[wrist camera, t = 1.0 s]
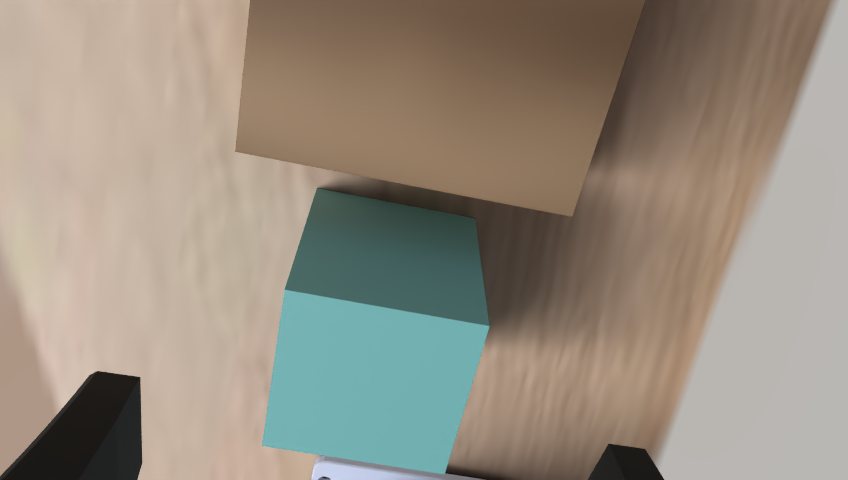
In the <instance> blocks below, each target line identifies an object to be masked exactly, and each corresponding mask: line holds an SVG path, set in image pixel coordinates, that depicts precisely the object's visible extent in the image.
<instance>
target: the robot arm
mask: <svg viewBox="0 0 848 480" xmlns="http://www.w3.org/2000/svg"><path fill="white" fill-rule="evenodd" d="M141 465H142V436H141V391H140V377H135V376H128V375H121V374H114V373H107V372H100V371H97V372H95V373H93V374H91V375H89V377H88V378H87V379H86V380H85V382H84V383H83V384H82V385H81V387H80V388H79V389H78V390H77V392H76V393H75V394H74V395H73V396H72V398H71V399H70V400H69V401H68V402H67V404H66V405H65V406H64V407H63V408H62V409H61V411H60V412H59V413H58V414H57V415H56V416H55V418H54V419H53V420H52V421H51V422H50V423H49V424H48V426H47V427H46V428H45V429H44V430H43V431H42V432H41V433H40V434H39V436H38V437H37V438H36V439H35V440H34V441H33V442H32V443H31V444H30V446H29V447H28V448H27V449H26V450H25V451H24V452H23V453H22V454H21V455H20V456H19V458H17V459H16V461H15V462H14V463H13V464H12V465H11V466H10V467H9V468H8V469H7V470H6V471H5V472H4V473H3V474H2V475H1V476H0V480H137V479H138V475H139V472H140V468H141ZM321 477H328V478H329V479H324V478H321ZM311 480H484V479H478V478H471V477H465V476H459V475H452V474H446V473H445V475H444V474H438V473H431V472H425V471H418V470H412V469H406V468H399V467H393V466H387V465H380V464H374V463H368V462H361V461H355V460H349V459H342V458H336V457H330V456H320V457H319V458H317V459H316V461H315V463H314V468H313V473H312V478H311ZM588 480H664V479H663V477H662V475H661V474H660V472H659V470H658V469H657V467H656V466H655V464H654V462H653V461H652V459H651V458H650V456H649V455H648V453H647V451H646V450H645V449H641V448H634V447H627V446H620V445H613V444H608V446H607V447H606V449H605V451H604V453H603V454H602V456H601V458H600V460H599V461H598V463H597V465H596V467H595V468H594V470H593V472H592V474H591V475H590V477H589V479H588Z"/></svg>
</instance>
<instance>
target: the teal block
mask: <svg viewBox="0 0 848 480" xmlns="http://www.w3.org/2000/svg"><path fill="white" fill-rule="evenodd" d="M489 327H490V325H489V318H488V310H487V303H486V296H485V288H484V281H483V273H482V266H481V258H480V251H479V244H478V236H477V229H476V221H475V218H471V217H465V216H460V215H455V214H450V213H445V212H439V211H434V210H429V209H424V208H418V207H413V206H408V205H403V204H398V203H392V202H387V201H382V200H377V199H372V198H366V197H361V196H356V195H351V194H345V193H340V192H335V191H330V190H325V189H319V188H317V190H316V193H315V196H314V199H313V203H312V206H311V209H310V212H309V215H308V218H307V221H306V224H305V228H304V231H303V234H302V237H301V240H300V243H299V246H298V250H297V253H296V256H295V259H294V262H293V265H292V268H291V272H290V275H289V278H288V281H287V284H286V287H285V291H284V298H283V305H282V312H281V319H280V326H279V332H278V339H277V346H276V353H275V360H274V367H273V374H272V381H271V387H270V394H269V401H268V408H267V415H266V422H265V429H264V436H263V442H262V446H266V447H273V448H279V449H285V450H292V451H298V452H304V453H311V454H317V455H323V456H330V457H336V458H342V459H349V460H355V461H361V462H368V463H374V464H380V465H387V466H393V467H399V468H406V469H412V470H418V471H425V472H431V473H438V474H444V475H445V471H446V468H447V465H448V461H449V458H450V455H451V452H452V448H453V445H454V442H455V438H456V435H457V432H458V429H459V425H460V422H461V419H462V415H463V412H464V409H465V406H466V402H467V399H468V396H469V392H470V389H471V386H472V383H473V379H474V376H475V373H476V369H477V366H478V363H479V360H480V356H481V353H482V350H483V346H484V343H485V340H486V337H487V333H488V330H489Z"/></svg>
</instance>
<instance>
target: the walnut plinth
mask: <svg viewBox="0 0 848 480" xmlns="http://www.w3.org/2000/svg"><path fill="white" fill-rule="evenodd" d="M644 3H645V0H250V8H249V18H248V28H247V38H246V48H245V59H244V69H243V79H242V89H241V99H240V110H239V120H238V130H237V140H236V150H235V152H240V153H245V154H250V155H255V156H261V157H266V158H271V159H276V160H281V161H286V162H292V163H297V164H302V165H307V166H312V167H317V168H323V169H328V170H333V171H338V172H343V173H348V174H353V175H359V176H364V177H369V178H374V179H379V180H384V181H390V182H395V183H400V184H405V185H410V186H415V187H421V188H426V189H431V190H436V191H441V192H446V193H451V194H457V195H462V196H467V197H472V198H477V199H482V200H488V201H493V202H498V203H503V204H508V205H513V206H519V207H524V208H529V209H534V210H539V211H544V212H549V213H555V214H560V215H565V216H570V217H572V216H573V213H574V210H575V207H576V204H577V201H578V198H579V195H580V192H581V189H582V186H583V183H584V181H585V178H586V175H587V172H588V169H589V166H590V163H591V160H592V157H593V154H594V151H595V148H596V145H597V142H598V139H599V136H600V133H601V130H602V127H603V124H604V121H605V119H606V116H607V113H608V110H609V107H610V104H611V101H612V98H613V95H614V92H615V89H616V86H617V83H618V80H619V77H620V74H621V71H622V68H623V65H624V62H625V59H626V57H627V54H628V51H629V48H630V45H631V42H632V39H633V36H634V33H635V30H636V27H637V24H638V21H639V18H640V15H641V12H642V9H643V6H644Z"/></svg>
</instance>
